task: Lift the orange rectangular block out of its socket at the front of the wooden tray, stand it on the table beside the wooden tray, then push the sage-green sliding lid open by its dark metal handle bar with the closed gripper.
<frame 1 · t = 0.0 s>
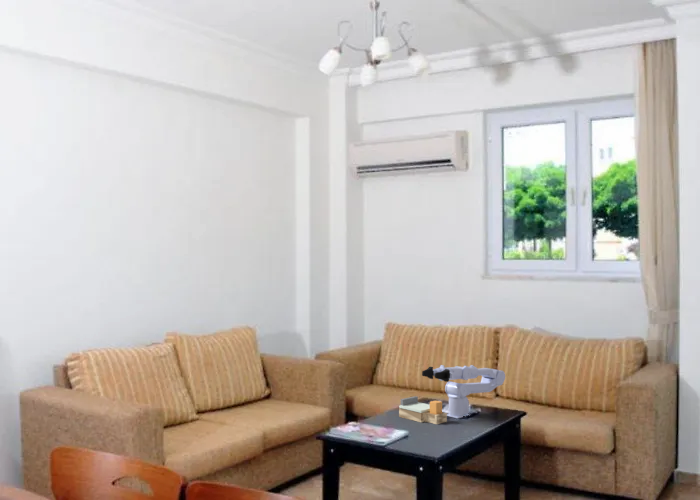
hand: (428, 374, 331), 22 cm above the table, fingers open, 7 cm apart
wooden tray: (418, 417, 340), on the table
orange rectangular block: (435, 417, 332), point 2 cm above the table, touching wooden tray
lid: (418, 404, 340), point 6 cm above the table, slide at 0.0 cm
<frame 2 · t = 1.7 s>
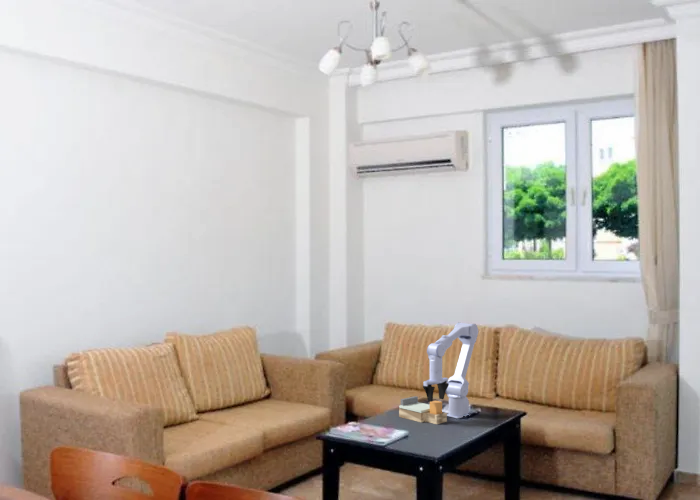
hand: (435, 400, 332), 10 cm above the table, fingers open, 7 cm apart
nothing on the table moved.
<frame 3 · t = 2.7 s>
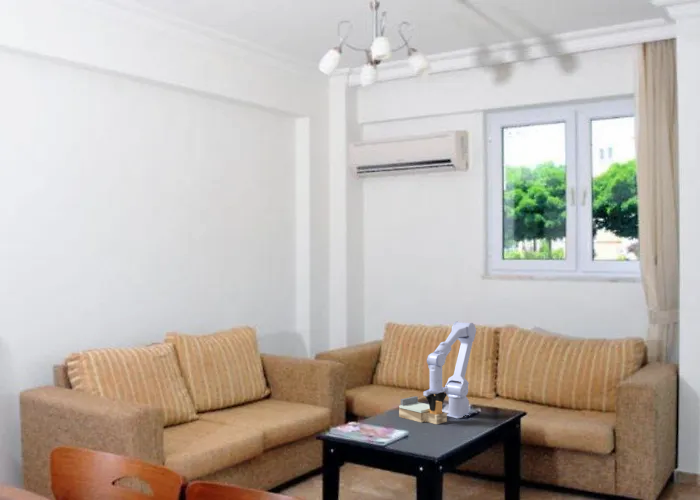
hand: (435, 409, 332), 5 cm above the table, fingers closed on orange rectangular block, 4 cm apart
orange rectangular block: (435, 417, 332), point 2 cm above the table, touching gripper, wooden tray
everything else where it was.
when the fingers open (5 cm above the table, at t = 5.9 s): orange rectangular block drops 2 cm, on the table.
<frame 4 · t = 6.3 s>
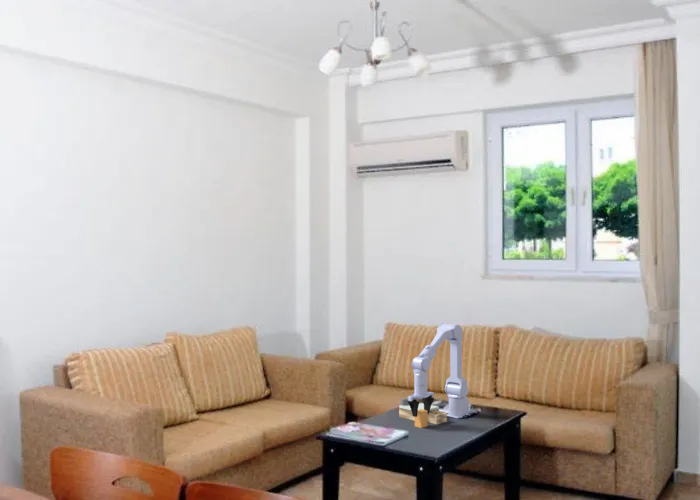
hand: (420, 415, 324), 5 cm above the table, fingers open, 7 cm apart
orange rectangular block: (421, 426, 324), on the table
everything else where it was.
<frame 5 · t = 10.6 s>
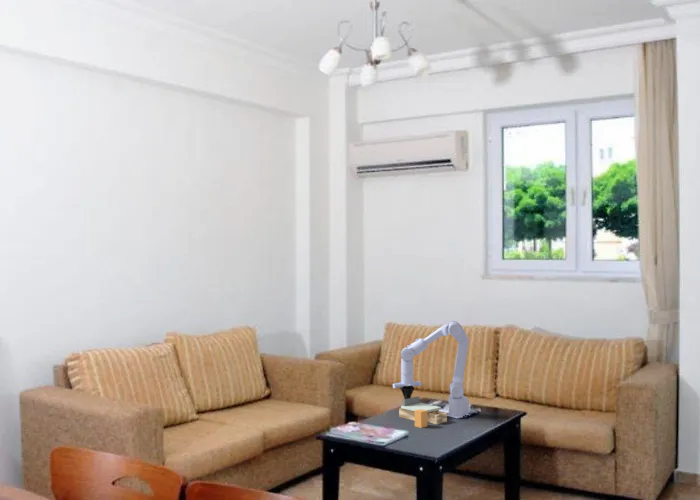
hand: (407, 402, 346), 6 cm above the table, fingers closed
lid: (420, 404, 339), point 6 cm above the table, slide at 1.2 cm, touching gripper
everything else where it was.
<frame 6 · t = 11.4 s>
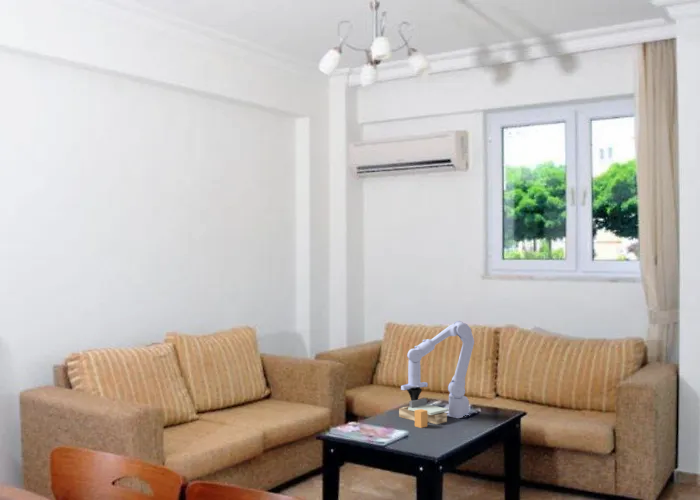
hand: (414, 403, 342), 6 cm above the table, fingers closed
lid: (428, 406, 336), point 6 cm above the table, slide at 5.8 cm, touching gripper
everything else where it was.
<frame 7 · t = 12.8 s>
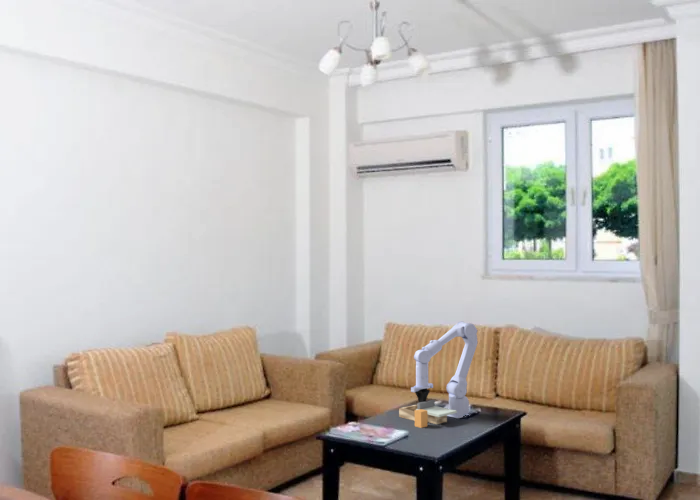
hand: (422, 405, 338), 6 cm above the table, fingers closed
lid: (436, 408, 332), point 6 cm above the table, slide at 10.7 cm, touching gripper
everything else where it was.
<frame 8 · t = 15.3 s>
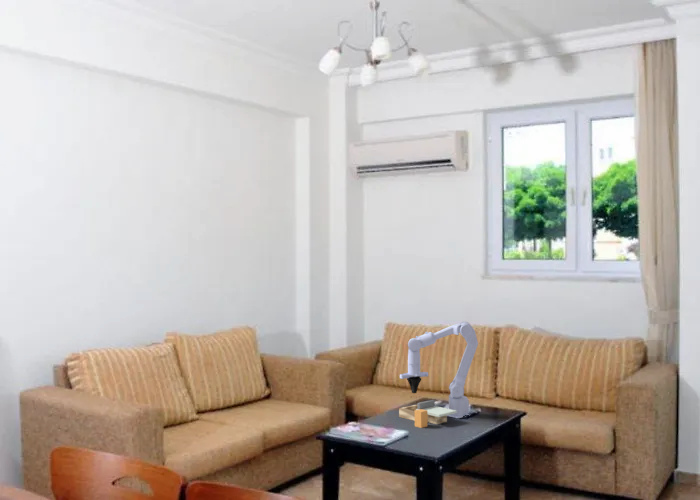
hand: (414, 392, 345), 10 cm above the table, fingers closed
lid: (436, 408, 332), point 6 cm above the table, slide at 10.7 cm
everything else where it was.
at the end: lid slide at 10.7 cm; orange rectangular block inside the target area (0.1 cm from its centre), on the table; the gripper is holding nothing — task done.
